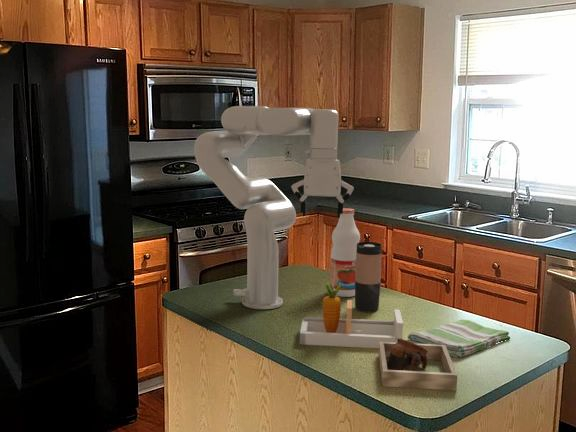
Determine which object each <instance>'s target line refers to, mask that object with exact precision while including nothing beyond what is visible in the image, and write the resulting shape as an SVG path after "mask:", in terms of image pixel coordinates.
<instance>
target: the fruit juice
mask: <svg viewBox="0 0 576 432" xmlns="http://www.w3.org/2000/svg"><path fill="white" fill-rule="evenodd" d="M355 213H356V212H355V209H354V208H350V207H349V208H348V207H347V208H346V207H343V214H340V217H338V218H339V219H338V222H337V224H336V226H335V228H334V229H333V231H332V234H331V241H332V247H331V251H330V276H329V277H330V278H329V286H330V285H332V286H333V289H334V290H335V289H336V288H337V287H338V286H339V285H340V286H341V288H340V289H339V291H338V292H337V294H336V296H337V297H339V298H351V297H355V272H356V250H357V243H359V242H361V241H360V240H361V233H360V231H359V229H358V227H357V225H356V222H355V219H354V216H355ZM330 289H331V288H330ZM331 292H332V290H331Z"/></svg>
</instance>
